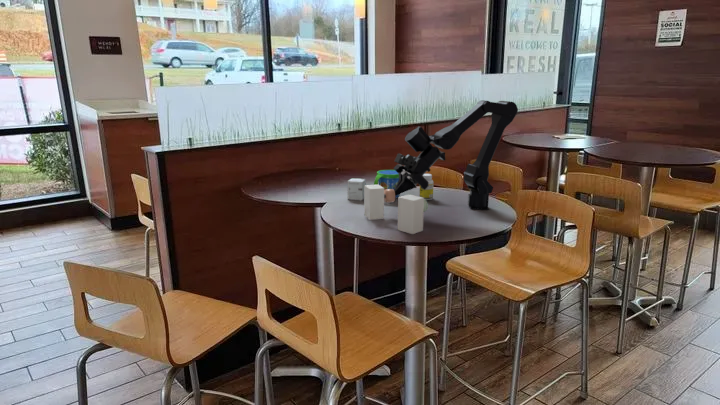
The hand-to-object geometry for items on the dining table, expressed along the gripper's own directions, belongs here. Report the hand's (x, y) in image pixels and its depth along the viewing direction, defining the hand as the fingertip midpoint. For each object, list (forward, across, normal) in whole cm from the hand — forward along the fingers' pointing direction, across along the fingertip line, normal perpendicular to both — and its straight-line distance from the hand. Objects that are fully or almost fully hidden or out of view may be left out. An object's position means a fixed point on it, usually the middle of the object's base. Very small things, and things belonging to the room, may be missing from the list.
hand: (393, 194), depth 166 cm
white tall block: (+10, 0, 0) cm, 10 cm away
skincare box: (+9, -27, +2) cm, 28 cm away
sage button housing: (+6, +17, +4) cm, 19 cm away
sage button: (+1, +16, +3) cm, 16 cm away
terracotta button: (+4, 0, -1) cm, 4 cm away
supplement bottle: (-9, -17, +20) cm, 28 cm away
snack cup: (0, -24, +11) cm, 26 cm away
